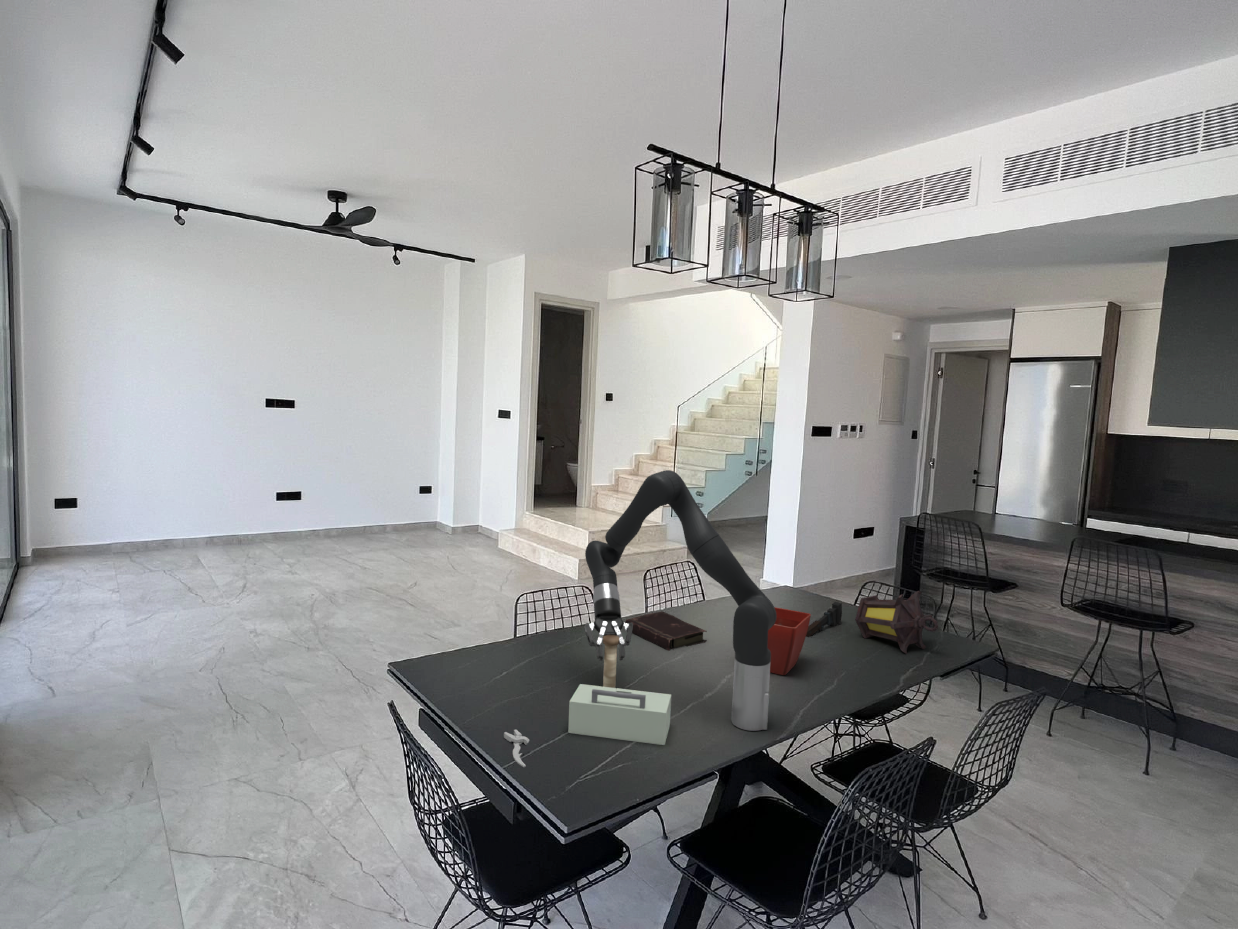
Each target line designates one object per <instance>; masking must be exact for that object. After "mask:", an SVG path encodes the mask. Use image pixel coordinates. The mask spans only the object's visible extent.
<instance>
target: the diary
mask: <svg viewBox="0 0 1238 929" xmlns="http://www.w3.org/2000/svg"><path fill="white" fill-rule="evenodd" d="M630 622H632V623H633V629H632V635H636V636H638V637H639V638H642V639H644V640H645V641H648V642H650V643H652V644H654V645H657V646H658V647H660V648H662V649H665V650H666V651H668V652H669V651H670V650H671V649H672V650H673V651H674V649H677V648H682V647H691V646H695V645H699V644H704V643H706V642H707V639H704V632H705V633H707V632H708V631H707V630H705V629H703V628H700V627H698V626H696V625H693V624H691V623H688V622H687V621H684V620H683V619H680V618H679V617H677V616H675V615H672V614H671V613H668V612H665V611H662V610H660V611H657V612H652V613H647V614H642V615H638V616H635V617H631V618H626V620H625V621H624V623H628V624H629V623H630Z"/></svg>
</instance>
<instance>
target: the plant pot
mask: <svg viewBox="0 0 1238 929" xmlns="http://www.w3.org/2000/svg"><path fill="white" fill-rule="evenodd" d="M774 608H775V610H776V615H777V617H776V622H775V624H774V625H773V626H772V627H771V628H770V629H769V630H768V649H769V650H770V652H771V662H770V674H771V673H773V674H775V675H780V676H785V675H788V673H789V672H790V671H791V670H792V669H793V668H794V667H795V666H796V664H797V662H798V660H799V657H800V655H801V652H802V649H803V647H804V644H805V641H806V634H807V630H808V626H809V625H810V621H811V616H812V614H811V613H808V612H805V611H804V612H803V611H797V610H792V609H787V608H782V607H781V608H780V607H776V606H774Z"/></svg>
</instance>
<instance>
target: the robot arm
mask: <svg viewBox="0 0 1238 929" xmlns="http://www.w3.org/2000/svg"><path fill="white" fill-rule="evenodd" d="M666 505H668V506H669V507H670V508H671V509H672V510H673V512H674V513H675V515H676V516H677V518H678V520H679V522H680V523H681V524H680V525H681V527H682V531H683V536H684V541H685V544H686V547H687V550H688V552H689V554H690V555H691V556H692V557H693V559H694V560H695V562H696V563H697V564H698V566H699V567H700V568H701V569H702V571H703V572H704V573H705V574H707V575H708V576H709V577H710V578H711V579H713V581H715V582H717V583H718V584H720V585H721V587H723V588H724V589H725V590H726V591H727V592H728V593H729V594H730V595H731V598H733V599H734V601H735V603H736V604H737V608H736V609H735V612H734V616H733V623H732V624H733V625H732V646H733V647H732V648H733V651H734V668H733V684H732V687H733V688H732V702H731V703H732V704H731V720H730V721H731V723H732V724H733V726H734V727H737V728H738V729H741V730H745V731H753V732H756V731H761V730H762V731H763V730H765V731H767V730H768V721H769V719H768V718H769V701H770V677H771V672H770V662H771V652H770V650H769V649H768V630H769V629H770V628H771V627H772V626H773V625H774V624H775V622H776V617H777V615H776V610H775V608H774V607H775V605H774V604H773V603H772V602H771V600H770V598H768V596H766V594H765V593H764V592H763V591H762V590H761V589H760V588H759V586H757V585H756V582H754V581H753V580H752V578H751V577H750V576H749V575H748V573H747V572H746V570H744V568H743V566H742V565H741V563H740V562H739V561H738V559H737V558H736V556H735V555H734V554H733V552H732V551H731V549H730V548H729V546H728V544H727V543H726V542H725V541H724V539H723V538H722V537H721V535H720V534H719V533H718V531H717V530H716V529H715V528H714V526H713V525H712V523H711V522H710V521H709V519H708V518H707V516H706V515H705V513H704V512H703V510H702V509H701V508H700V507H699V505H698V503H697V502H696V500H695V498H694V497H693V495H692V493H691V491H690V489H689V488H688V486H687V484H686V483H685V481H684V480H683V478H682V477H681V476H680V474H678V473H677V472H675V471H674V470H671V469H669V470H668V469H667V470H662V471H659V472H655V473H652V474H650V475H649V476H648V475H647V477H646V478H645V480H644V481H643V482H642V484H641V485H640V487H639V489H638V491H637V492H636V494H635V496H634V498H632V501H631V502H630V504H629V505H628V507H627V508H626V509H625V510H624V512H623V513H622V514H621V515H620V517H619V518H618V519H617V520H616V521H615V522H614V523H613V524H612V526H611V527H610V528H609V529H608V530H607V532H606V533H605V542H604V541H600V540H592V541H589V543H587V546H586V547H585V553H584V554H585V555H584V557H585V561H586V564H587V566H588V570H589V572H590V574H591V578H592V586H593V595H592V598H593V600H592V602H593V611H594V612H593V614H594V621H593V622H591V623H589V622H586V623H585V624H584V627H583V629H584V632H585V635H586V639H587V642H588V644H589V646H590V647H595V649H596V650H595V652H596V659H599V661H603V660H604V654H603V653H604V651H603V644H602V643H603V636H605V635H616V636H618V637H619V644H618V645H617V646H618V656H619V658H618V659H619V661H623V660H624V659H625V657H626V646H627V647H628V646H629V645H630V643H631V641H632V636H633V633H632V629H633V623H632V622H630V623H629V624H628V623H625V621H624V620H623V618H622V611H621V601H620V593H619V589H618V579H617V578H618V577H617V573H616V571H615V570H614V569H613V568H614V567H616V566H617V565H618V564H619V563H620V560H621V559H622V558H621V557H622V555H623V553H624V551H625V550H626V548H627V546H628V545H629V544H630V543H631V541H632V540H634V538H635V537H636V536H637V535H638V534H639V532H640V530H641V527H642V525H643V523H644V521H645V520H646V518H647V517H648V516H650V515H651V514H652V513H653V512H655V511H656V510H657V509H659V508H660V507H663V506H664V507H665V506H666ZM623 628H624V631H625V632H626V634H625V636H626V637H625V639H624V637H623V634H622V632H621V630H622V629H623ZM594 629H595V630H596V631H597V633H598V638H597V639H595V637H594V634H593V630H594Z"/></svg>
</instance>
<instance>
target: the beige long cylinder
mask: <svg viewBox="0 0 1238 929" xmlns="http://www.w3.org/2000/svg"><path fill="white" fill-rule="evenodd" d="M618 644H619V637H618V636H616V635H605V636H603V639H602V645H604V651H603V653H604V654H603V678H602V681H603V682H602V687H610V688H616V683H617V682H616V680H617V660H618V659H617V658H618V656H617V655H618V654H617V653H618V646H619V645H618Z"/></svg>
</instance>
